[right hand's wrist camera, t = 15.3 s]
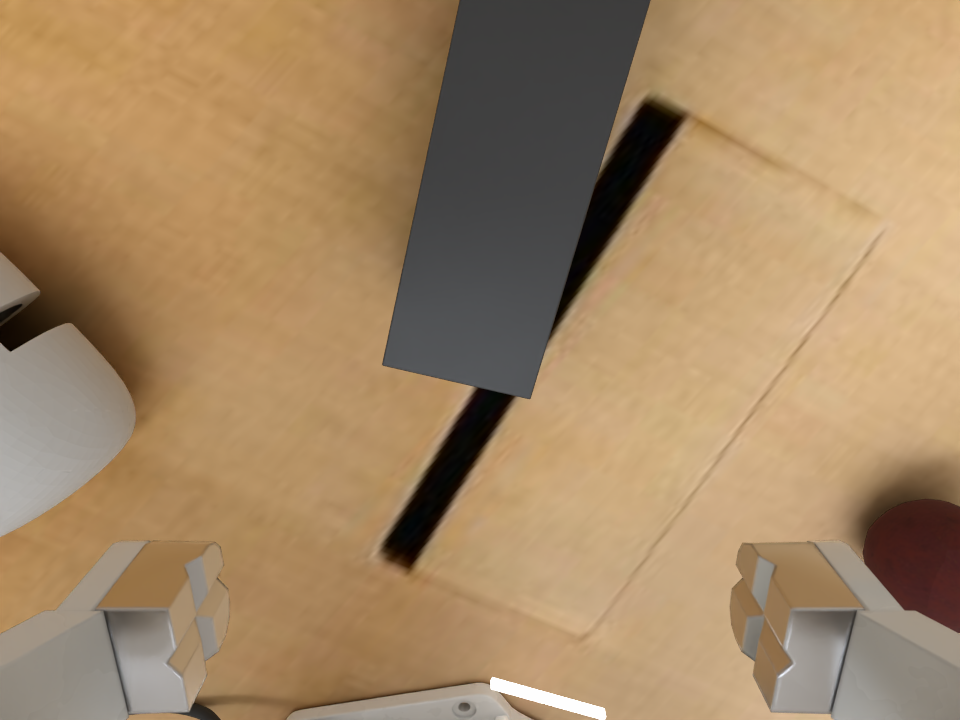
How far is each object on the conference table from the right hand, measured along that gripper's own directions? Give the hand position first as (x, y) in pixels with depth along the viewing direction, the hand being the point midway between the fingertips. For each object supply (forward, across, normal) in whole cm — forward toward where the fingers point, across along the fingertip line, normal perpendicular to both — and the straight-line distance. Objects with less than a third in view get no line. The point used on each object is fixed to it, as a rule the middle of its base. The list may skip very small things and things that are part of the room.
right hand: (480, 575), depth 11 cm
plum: (+28, -27, +18) cm, 43 cm away
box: (+28, -2, -8) cm, 29 cm away
